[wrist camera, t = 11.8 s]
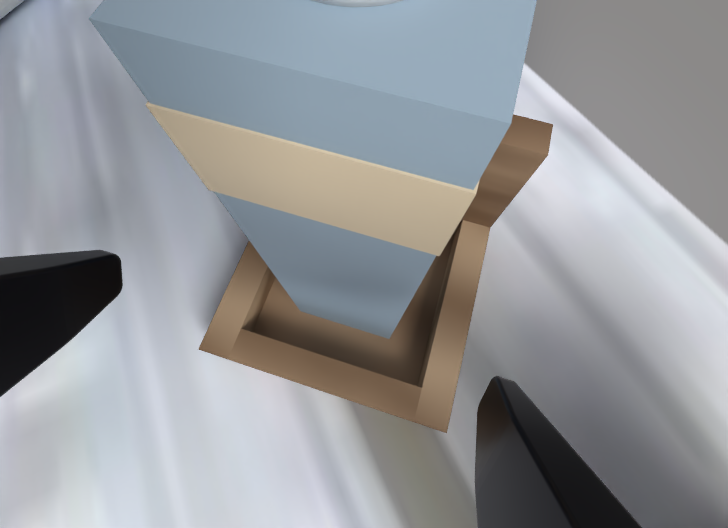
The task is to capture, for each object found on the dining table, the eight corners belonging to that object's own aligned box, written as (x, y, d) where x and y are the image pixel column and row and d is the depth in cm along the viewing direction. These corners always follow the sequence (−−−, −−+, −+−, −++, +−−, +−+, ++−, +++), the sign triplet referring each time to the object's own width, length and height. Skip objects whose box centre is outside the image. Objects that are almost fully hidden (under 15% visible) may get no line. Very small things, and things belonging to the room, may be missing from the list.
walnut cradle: (435, 427, 18) (498, 457, 10) (217, 354, 19) (112, 326, 11) (482, 218, 22) (554, 116, 14) (300, 167, 23) (268, 45, 15)
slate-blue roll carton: (389, 340, 19) (528, 105, 3) (299, 311, 19) (62, -8, 4) (413, 254, 20) (579, -161, 5) (330, 230, 21) (250, -217, 6)
